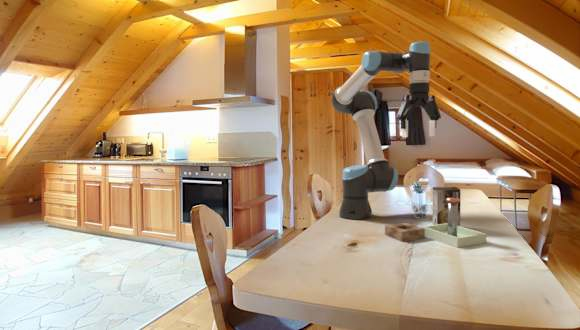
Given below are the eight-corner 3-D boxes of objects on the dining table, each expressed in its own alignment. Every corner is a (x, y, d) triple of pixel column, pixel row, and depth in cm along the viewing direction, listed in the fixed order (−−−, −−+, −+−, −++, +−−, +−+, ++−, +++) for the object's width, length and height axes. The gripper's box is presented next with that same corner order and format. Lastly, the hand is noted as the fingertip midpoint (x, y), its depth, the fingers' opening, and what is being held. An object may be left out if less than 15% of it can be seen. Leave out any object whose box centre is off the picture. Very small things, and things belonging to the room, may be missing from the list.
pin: (442, 236, 132) (443, 198, 130) (452, 234, 133) (452, 197, 132) (452, 239, 128) (453, 200, 126) (461, 237, 129) (462, 198, 128)
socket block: (384, 234, 137) (384, 225, 137) (406, 231, 141) (406, 222, 140) (402, 241, 128) (402, 232, 128) (424, 238, 132) (424, 228, 131)
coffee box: (454, 225, 148) (455, 186, 147) (460, 229, 142) (461, 189, 141) (431, 225, 149) (432, 186, 148) (436, 229, 143) (437, 189, 141)
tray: (421, 234, 136) (421, 226, 136) (447, 230, 141) (448, 222, 140) (457, 247, 120) (457, 238, 120) (485, 242, 125) (486, 233, 125)
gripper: (399, 80, 135) (399, 137, 137) (451, 82, 144) (449, 136, 146) (387, 83, 142) (386, 137, 143) (436, 85, 151) (436, 136, 153)
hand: (418, 137), depth 145 cm, fingers open, 13 cm apart
